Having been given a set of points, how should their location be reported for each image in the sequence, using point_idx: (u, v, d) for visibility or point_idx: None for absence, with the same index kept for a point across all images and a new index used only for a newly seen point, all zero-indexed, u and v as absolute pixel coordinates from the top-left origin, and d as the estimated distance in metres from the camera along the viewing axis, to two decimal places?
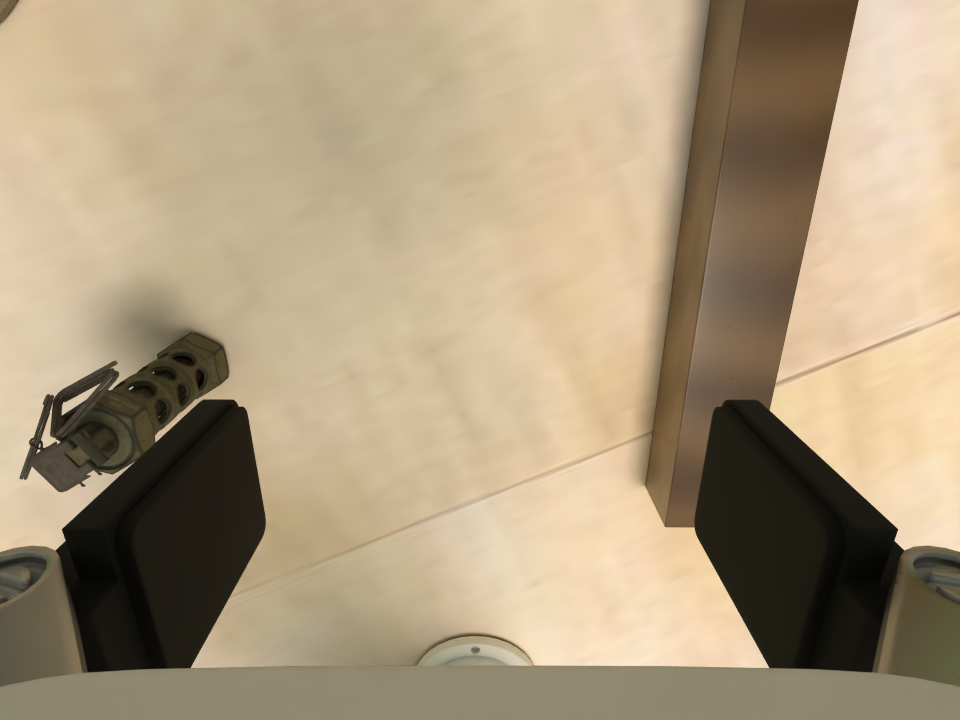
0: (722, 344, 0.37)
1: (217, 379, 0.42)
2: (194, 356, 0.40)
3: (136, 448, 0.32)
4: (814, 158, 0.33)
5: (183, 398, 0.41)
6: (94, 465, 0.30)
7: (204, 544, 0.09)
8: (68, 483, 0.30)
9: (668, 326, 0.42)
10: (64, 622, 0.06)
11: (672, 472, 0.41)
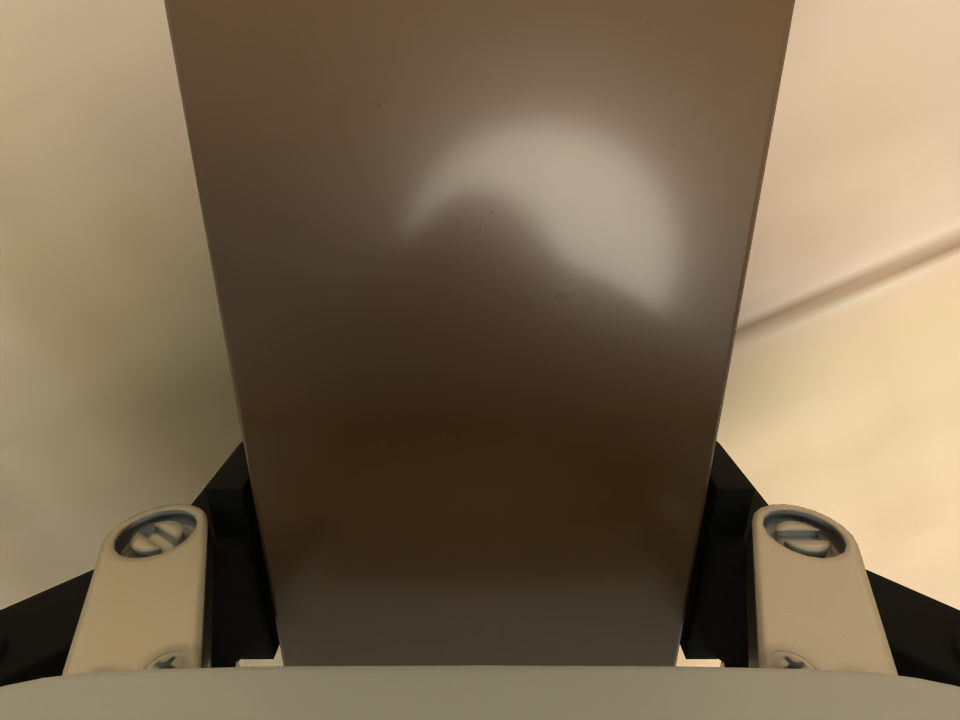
0: None
1: None
2: None
3: None
4: None
5: None
6: None
7: None
8: None
9: None
10: (199, 584, 0.06)
11: None
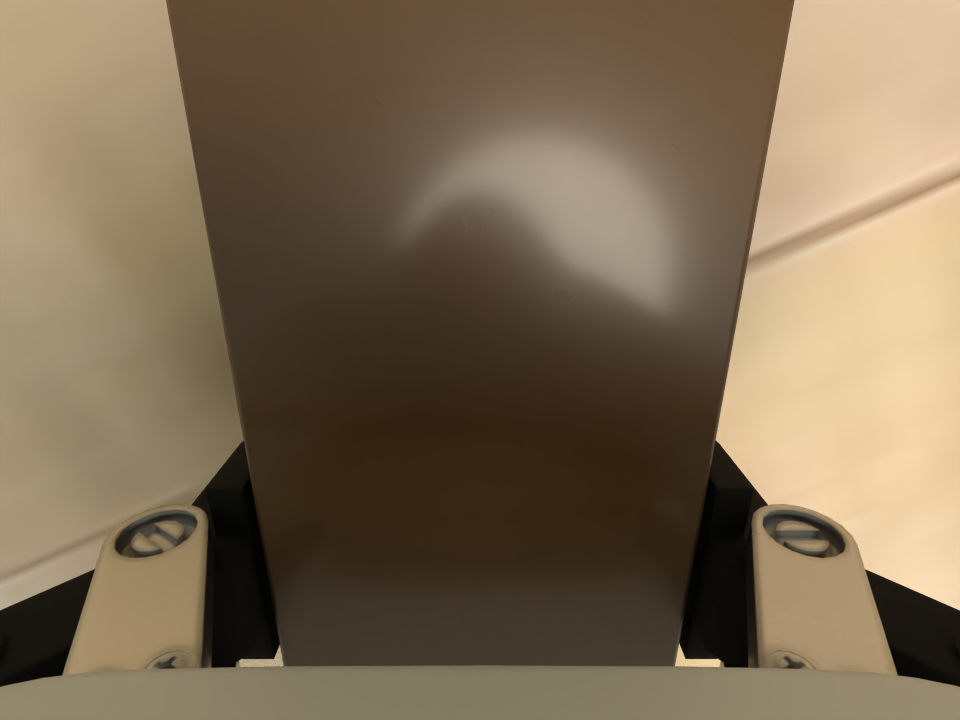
0: None
1: None
2: None
3: None
4: None
5: None
6: None
7: None
8: None
9: None
10: (199, 584, 0.06)
11: None
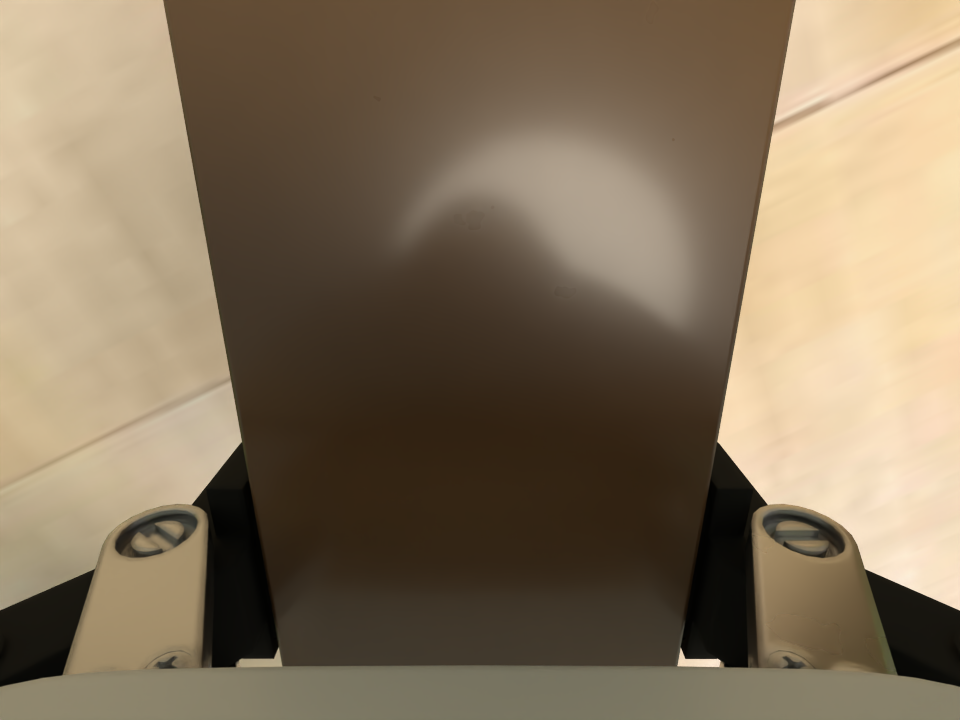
0: None
1: None
2: None
3: None
4: None
5: None
6: None
7: None
8: None
9: None
10: (199, 584, 0.06)
11: None
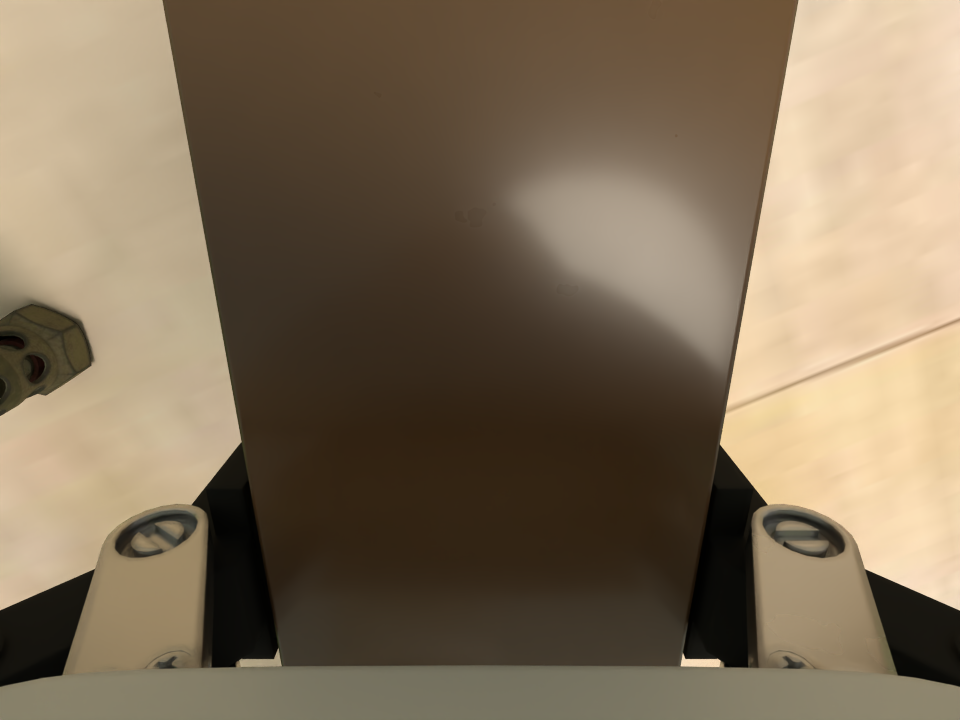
0: None
1: (69, 368, 0.30)
2: (26, 336, 0.29)
3: None
4: None
5: None
6: None
7: None
8: None
9: None
10: (199, 584, 0.06)
11: None
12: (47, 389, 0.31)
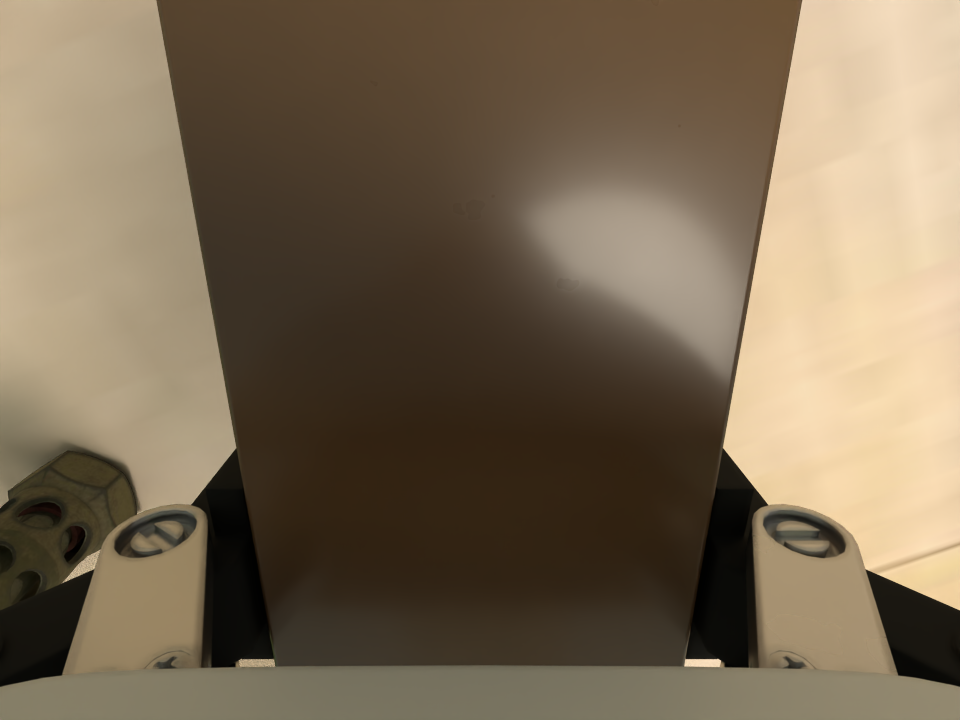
0: None
1: None
2: (64, 503, 0.23)
3: None
4: None
5: None
6: None
7: None
8: None
9: None
10: (199, 584, 0.06)
11: None
12: None
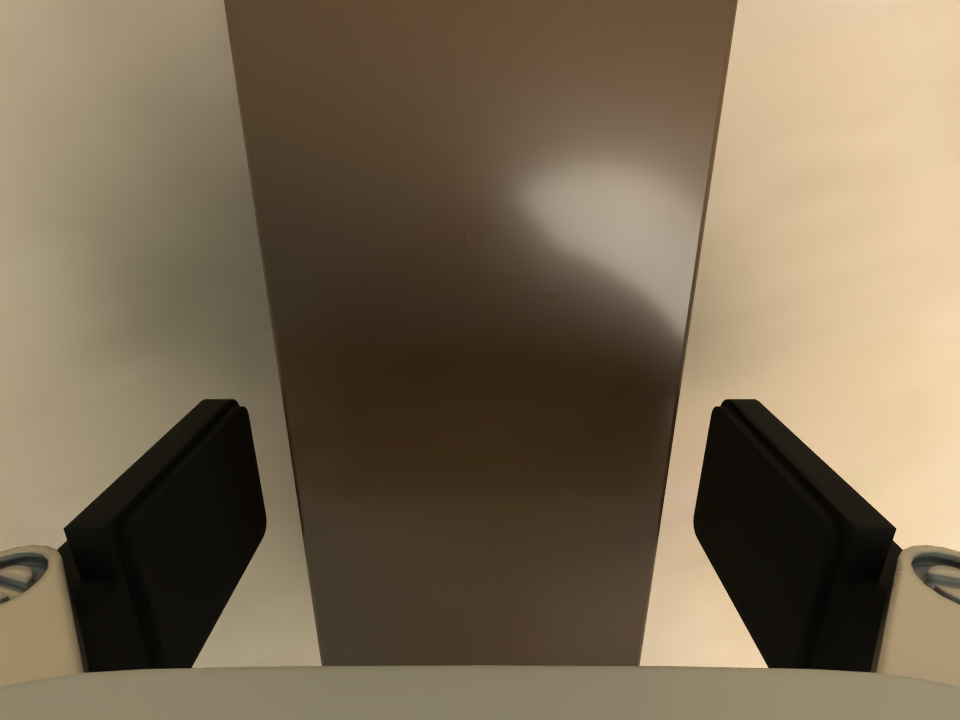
0: (388, 29, 0.07)
1: None
2: None
3: None
4: None
5: None
6: None
7: (205, 543, 0.09)
8: None
9: None
10: (66, 622, 0.06)
11: (319, 642, 0.11)
12: None
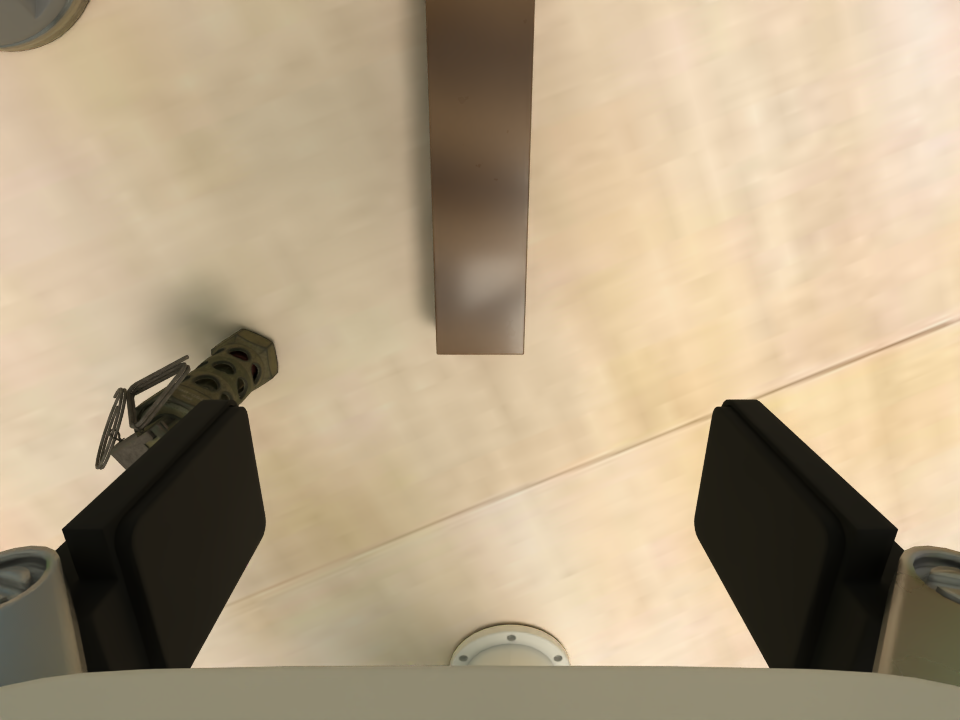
0: (461, 121, 0.33)
1: (269, 374, 0.43)
2: (248, 351, 0.41)
3: None
4: None
5: None
6: None
7: (204, 544, 0.09)
8: None
9: None
10: (64, 622, 0.06)
11: None
12: (252, 388, 0.43)
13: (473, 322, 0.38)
